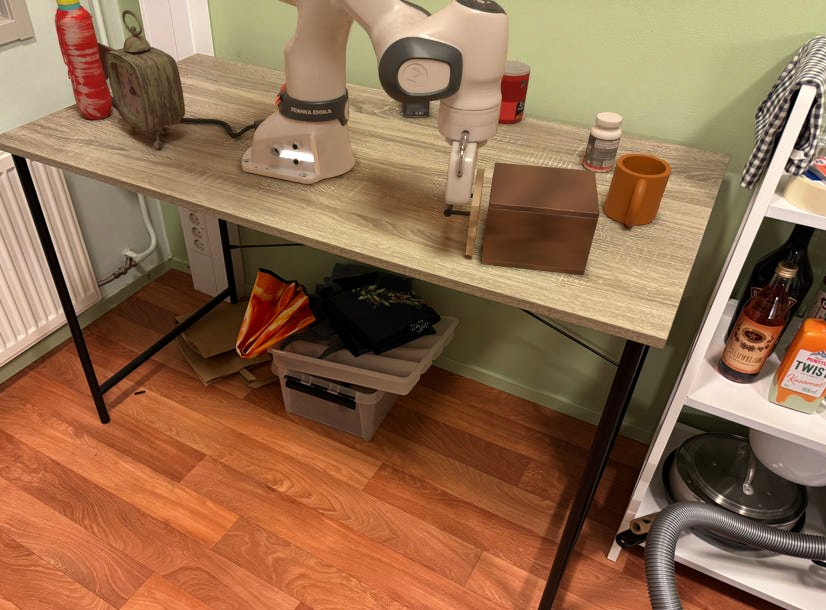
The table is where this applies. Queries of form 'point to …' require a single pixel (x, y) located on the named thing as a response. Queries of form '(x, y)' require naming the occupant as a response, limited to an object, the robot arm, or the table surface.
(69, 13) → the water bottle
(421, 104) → the box
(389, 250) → the table surface
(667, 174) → the mug
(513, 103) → the canned food
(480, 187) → the drawer
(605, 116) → the pill bottle
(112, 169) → the table surface
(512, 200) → the cabinet
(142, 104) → the tabletop clock
